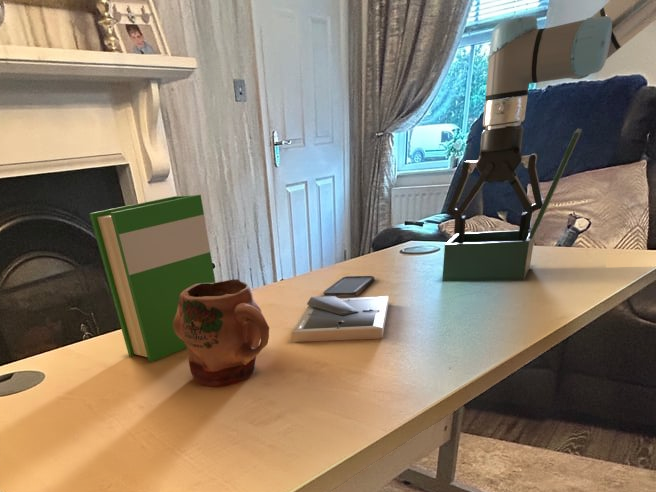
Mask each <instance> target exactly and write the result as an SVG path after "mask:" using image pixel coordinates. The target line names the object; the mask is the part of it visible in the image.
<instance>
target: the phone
mask: <svg viewBox="0 0 656 492" xmlns="http://www.w3.org/2000/svg"><path fill="white" fill-rule="evenodd" d="M374 282H375V276H374V275H348V276H347V275H346V276H343V277H341V278H340V279H339V280H338V281H336V282H335V283H334V284H332V285H331V286H329V287H328V288H326V289H325V290H323V297H326V296H335V297H337V298H356V297H358V296H359V295H360V294H361V293H362V292H363V291H364V290H366V289H367V288H368V287H369V286H371V284H373V283H374Z"/></svg>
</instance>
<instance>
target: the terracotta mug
mask: <svg viewBox="0 0 656 492" xmlns="http://www.w3.org/2000/svg"><path fill="white" fill-rule="evenodd" d="M173 327H174V330H175V332H176V334H177V335H178V337H179V338H181V339H182V340H183V341H184V343H185V344H186V347H187V348H186V350H187V357H188V366H189V371H190V373H191V375H192V379H194V381H195V382H196V383H197V384H199V385H201V386H205V387H208V388H226V387H229V386H232V385H235V384H239V383H241V382H244V381H245V380H248V379H249V378H250V377H251V376H253V374H254V372H255V369H256V360H257V356H258V355H259V354H260V353H261V351H262V350H263V349H264V348H265V347H267V345H268V343H269V340H270V339H269V338H270V326H269V324H268V322H267V320H266V318H265V316H264V314H263V311H262V309H261V307H260V306H259V304H258V303H257V301H255V299H254V295H253V293H252V290H251V287H250V286H249V285H248V284H247V283H246V282H245V281H241V280H240V279H238V278H237V279H228V280H220V281H215V283H202V284H195V285H192V286H191V287H189V288H187V289H185V290H184V291H182V293H180V296H179V303H178V309H177V313H176V316H175V318H174V322H173Z"/></svg>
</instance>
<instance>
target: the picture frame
mask: <svg viewBox="0 0 656 492" xmlns="http://www.w3.org/2000/svg"><path fill="white" fill-rule="evenodd" d="M306 305H307V307H306V309H305V311H304V312H303V314H302V315H301V317H300V319H299V321H298V323H297V324H296V325H295V327H294V329H293V330H292V332H291V333H292V342H293V343H299V342H300V343H303V342H324V341H349V340H373V339H383V336H384V331H385V325H386V320H387V314H388V309H389V295H379V296H363V297H361V296H360V297H344V298H339V297H335V296H326V297H324V296H310V298H309V299H308V301H307V303H306Z"/></svg>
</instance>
